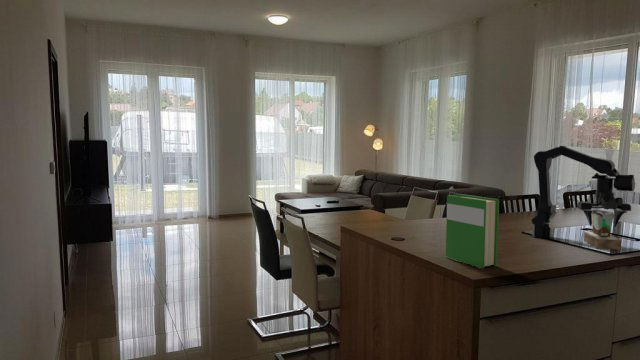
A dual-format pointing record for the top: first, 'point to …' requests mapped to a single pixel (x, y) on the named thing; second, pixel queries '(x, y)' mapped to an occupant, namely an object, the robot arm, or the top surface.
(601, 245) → the base board
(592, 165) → the robot arm
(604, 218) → the food container
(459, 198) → the hardback book
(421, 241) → the top surface
